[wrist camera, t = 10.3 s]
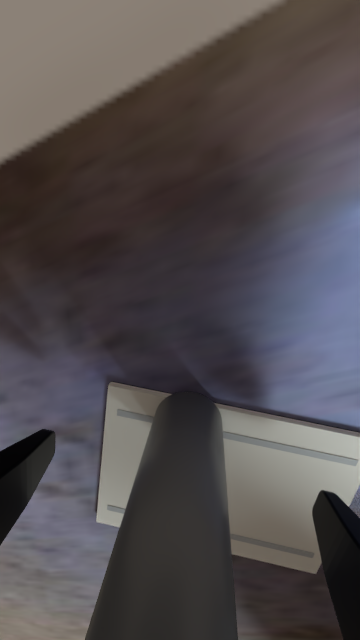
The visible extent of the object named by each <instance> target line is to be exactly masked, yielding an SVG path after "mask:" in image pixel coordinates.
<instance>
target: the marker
mask: <svg viewBox="0 0 360 640" xmlns="http://www.w3.org/2000/svg"><path fill="white" fill-rule="evenodd" d="M85 640H238V636H237V622H236V608H235V594H234V580H233V566H232V552H231V538H230V524H229V511H228V497H227V483H226V469H225V455H224V441H223V427H222V417H221V414H220V411H219V409H218V408H217V406H216V405H215V404H214V403H213V402H212V401H211V400H210V399H208V398H207V397H205V396H203V395H201V394H198V393H194V392H178V393H174V394H172V395H170V396H168V397H166V398H165V399H164V400H163V401H162V402H161V403H160V404H159V406H158V407H157V410H156V413H155V416H154V419H153V422H152V425H151V429H150V432H149V435H148V438H147V441H146V445H145V448H144V451H143V454H142V458H141V461H140V464H139V467H138V470H137V474H136V477H135V480H134V483H133V486H132V490H131V493H130V496H129V499H128V503H127V506H126V509H125V512H124V515H123V519H122V522H121V525H120V528H119V531H118V535H117V538H116V541H115V544H114V548H113V551H112V554H111V557H110V560H109V564H108V567H107V570H106V573H105V576H104V580H103V583H102V586H101V589H100V592H99V596H98V599H97V602H96V605H95V609H94V612H93V615H92V618H91V621H90V625H89V628H88V631H87V634H86V637H85Z"/></svg>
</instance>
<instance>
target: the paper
mask: <svg viewBox="0 0 360 640" xmlns="http://www.w3.org/2000/svg"><path fill="white" fill-rule="evenodd" d="M170 395H172V394H169V393H164V392H159V391H154V390H149V389H144V388H139V387H135V386H130V385H125V384H120V383H115V382H110V384H109V385H108V394H107V405H106V416H105V428H104V439H103V450H102V462H101V473H100V485H99V496H98V507H97V519H96V522H99V523H103V524H107V525H112V526H116V527H120V525H121V522H122V519H123V515H124V512H125V509H126V506H127V503H128V499H129V496H130V493H131V490H132V486H133V483H134V480H135V477H136V474H137V470H138V467H139V464H140V461H141V458H142V454H143V451H144V448H145V445H146V441H147V438H148V435H149V432H150V429H151V425H152V422H153V419H154V416H155V413H156V410H157V407H158V406H159V404H160V403H161V402H162V401H163V400H164V399H165V398H166V397H168V396H170ZM214 404H215V405H216V406H217V408H218V409H219V411H220V414H221V417H222V427H223V441H224V455H225V469H226V483H227V497H228V511H229V524H230V538H231V552H232V554H233V555H237V556H242V557H246V558H250V559H254V560H258V561H263V562H267V563H271V564H275V565H279V566H284V567H288V568H292V569H296V570H300V571H305V572H309V573H313V574H316V573H317V571H318V569H319V567H320V565H321V563H322V561H321V556H320V551H319V546H318V541H317V536H316V531H315V526H314V522H313V517H312V508H313V505H314V503H315V501H316V498H317V496H318V494H319V492H320V491H321V490H325V491H330V492H333V493H335V494H337V495H338V496H339V497H340V498H341V499H342V501H343V502H344V503H345V504H346V505H347V506H348V507H349V506H350V504H351V502H352V500H353V498H354V495H355V493H356V491H357V489H358V487H359V485H360V433H358V432H354V431H349V430H344V429H339V428H334V427H329V426H324V425H320V424H315V423H310V422H305V421H300V420H295V419H290V418H285V417H281V416H276V415H271V414H266V413H261V412H256V411H251V410H246V409H242V408H237V407H232V406H227V405H222V404H217V403H214Z"/></svg>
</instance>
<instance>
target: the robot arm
mask: <svg viewBox="0 0 360 640" xmlns="http://www.w3.org/2000/svg"><path fill="white" fill-rule="evenodd" d="M54 453H55V432H54V431H51V430H47V429H42V430H40V431H38V432H36V433H34V434H32V435H30V436H28V437H26V438H24V439H23V440H21V441H19V442H17V443H15V444H13V445H11V446H9V447H7V448H6V449H4V450H2V451H0V545H1V544H2V542H3V541H4V539H5V538H6V536H7V535H8V533H9V531H10V530H11V528H12V527H13V525H14V524H15V522H16V521H17V519H18V518H19V516H20V515H21V513H22V512H23V510H24V509H25V507H26V506H27V504H28V502H29V500H30V499H31V497H32V495H33V493H34V491H35V490H36V488H37V486H38V484H39V482H40V480H41V478H42V477H43V475H44V473H45V471H46V469H47V467H48V465H49V464H50V462H51V460H52V458H53V456H54ZM312 517H313V522H314V526H315V531H316V536H317V541H318V546H319V551H320V556H321V561H322V565H323V570H324V574H325V578H326V581H327V585H328V588H329V592H330V595H331V599H332V602H333V605H334V609H335V612H336V616H337V619H338V622H339V626H340V629H341V633H342V636H343V639H344V640H360V518H359V517H358V516H357V515H356V514H355V513H354V512H353V511H352V510H351V509H350V508H349V507H348V506H347V505H346V504H345V503H344V502H343V501H342V499H341V498H340V497H339V496H338V495H337V494H335V493H333V492H330V491H325V490H321V491H320V492H319V494H318V496H317V498H316V501H315V503H314V505H313V508H312Z"/></svg>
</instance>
